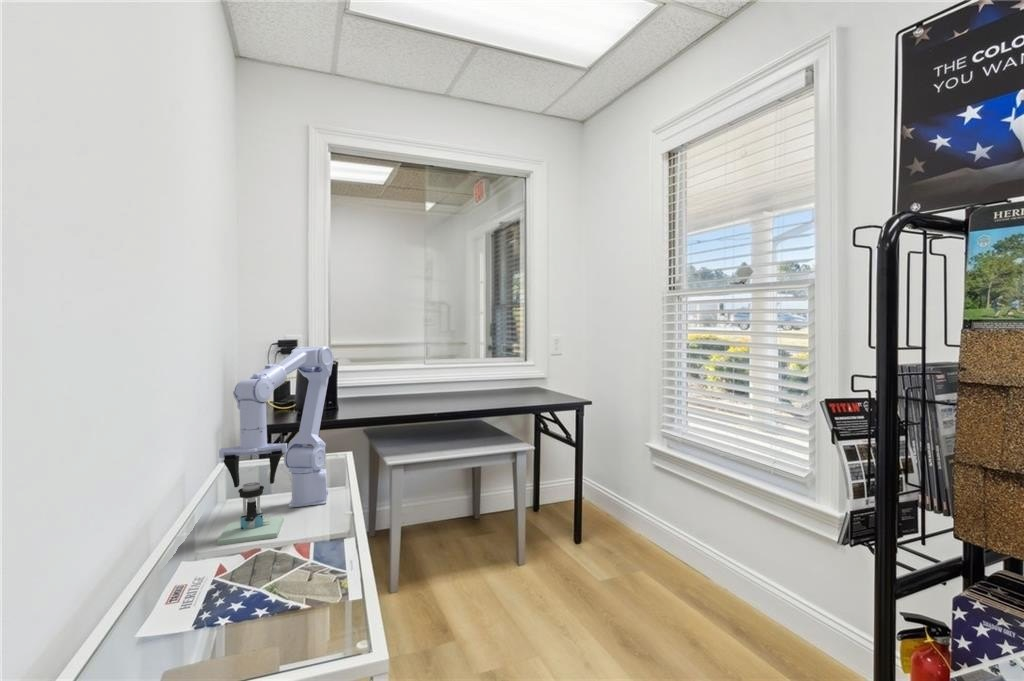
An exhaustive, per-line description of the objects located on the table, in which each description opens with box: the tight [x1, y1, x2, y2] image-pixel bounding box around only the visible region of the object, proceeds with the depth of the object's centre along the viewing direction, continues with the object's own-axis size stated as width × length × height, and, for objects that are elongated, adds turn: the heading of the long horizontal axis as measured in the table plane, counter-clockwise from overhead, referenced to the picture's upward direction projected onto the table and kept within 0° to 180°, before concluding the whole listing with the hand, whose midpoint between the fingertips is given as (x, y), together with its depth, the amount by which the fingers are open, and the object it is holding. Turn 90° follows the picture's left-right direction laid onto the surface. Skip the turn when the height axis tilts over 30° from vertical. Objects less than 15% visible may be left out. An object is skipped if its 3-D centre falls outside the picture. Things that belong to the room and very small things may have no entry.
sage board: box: [216, 516, 285, 546], centre depth 116 cm, size 12×12×1 cm
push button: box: [237, 482, 272, 530], centre depth 117 cm, size 7×5×10 cm
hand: (254, 484), depth 119 cm, fingers open, 7 cm apart
